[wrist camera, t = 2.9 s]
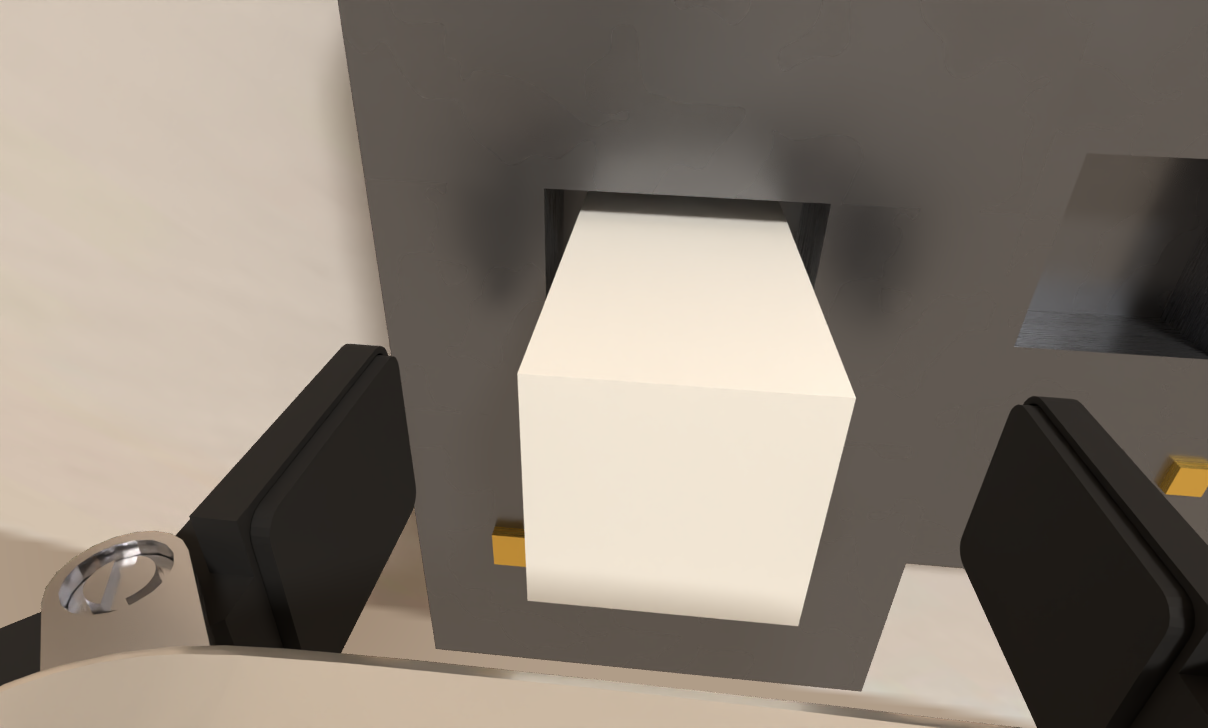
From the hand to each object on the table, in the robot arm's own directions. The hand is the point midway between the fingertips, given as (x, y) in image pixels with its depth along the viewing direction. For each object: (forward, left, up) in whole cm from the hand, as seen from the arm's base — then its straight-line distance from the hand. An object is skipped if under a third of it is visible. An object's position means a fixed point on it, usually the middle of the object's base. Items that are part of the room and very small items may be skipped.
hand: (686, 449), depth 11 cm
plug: (0, 0, -6) cm, 6 cm away
